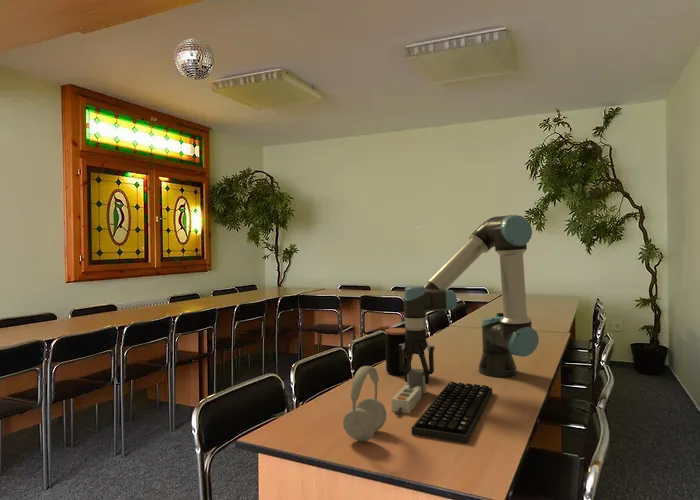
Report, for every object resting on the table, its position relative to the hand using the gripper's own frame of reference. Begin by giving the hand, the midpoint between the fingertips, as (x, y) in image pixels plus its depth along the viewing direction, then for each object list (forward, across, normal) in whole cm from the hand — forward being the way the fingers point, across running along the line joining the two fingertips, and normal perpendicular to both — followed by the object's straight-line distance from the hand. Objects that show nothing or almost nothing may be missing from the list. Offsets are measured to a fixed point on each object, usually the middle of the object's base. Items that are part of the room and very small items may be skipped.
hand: (417, 391), depth 172 cm
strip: (0, 0, +15) cm, 15 cm away
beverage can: (+1, -20, -116) cm, 118 cm away
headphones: (+1, +4, +42) cm, 42 cm away
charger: (0, 0, +2) cm, 2 cm away
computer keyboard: (+1, -17, +15) cm, 22 cm away
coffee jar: (+1, +14, -23) cm, 27 cm away
